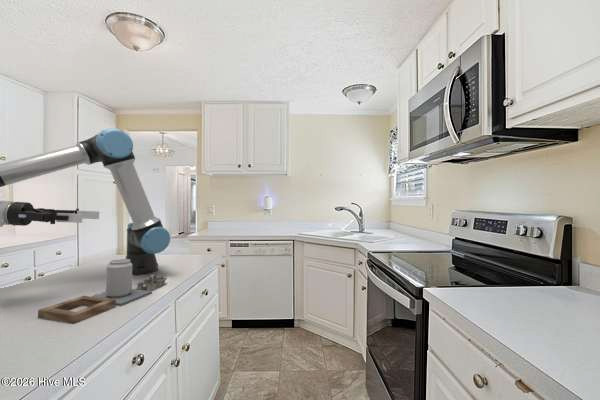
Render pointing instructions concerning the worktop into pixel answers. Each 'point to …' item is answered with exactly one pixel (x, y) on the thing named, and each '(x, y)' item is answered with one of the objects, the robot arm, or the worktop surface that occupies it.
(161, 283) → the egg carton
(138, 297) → the mat
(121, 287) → the can
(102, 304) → the frame
